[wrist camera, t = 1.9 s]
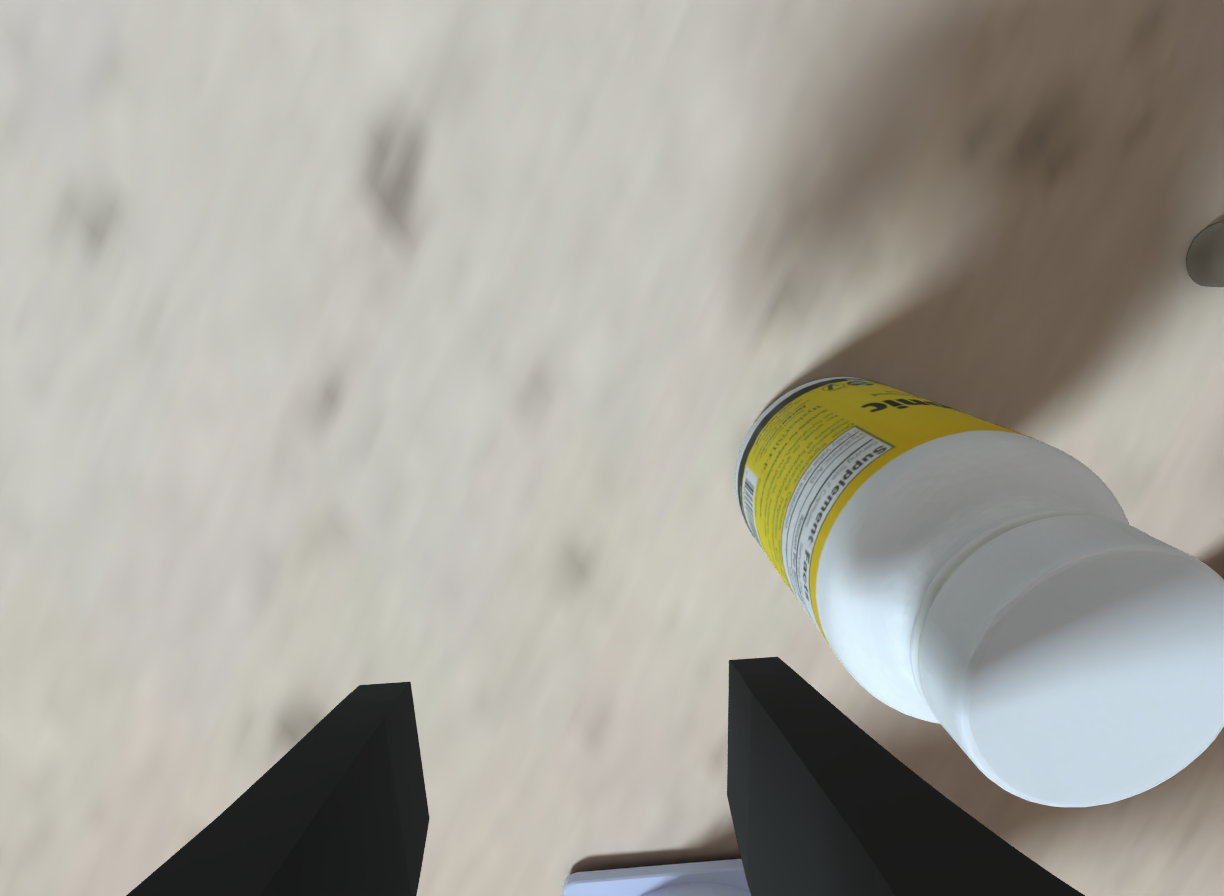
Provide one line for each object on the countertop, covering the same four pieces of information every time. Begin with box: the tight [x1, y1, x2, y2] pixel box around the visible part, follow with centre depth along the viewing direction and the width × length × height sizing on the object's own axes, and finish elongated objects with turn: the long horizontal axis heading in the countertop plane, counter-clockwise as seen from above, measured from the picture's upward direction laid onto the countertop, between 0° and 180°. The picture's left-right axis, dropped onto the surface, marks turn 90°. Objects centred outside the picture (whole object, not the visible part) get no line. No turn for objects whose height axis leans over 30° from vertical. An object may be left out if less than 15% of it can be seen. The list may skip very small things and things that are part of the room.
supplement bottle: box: [735, 377, 1224, 807], centre depth 13 cm, size 5×5×10 cm
